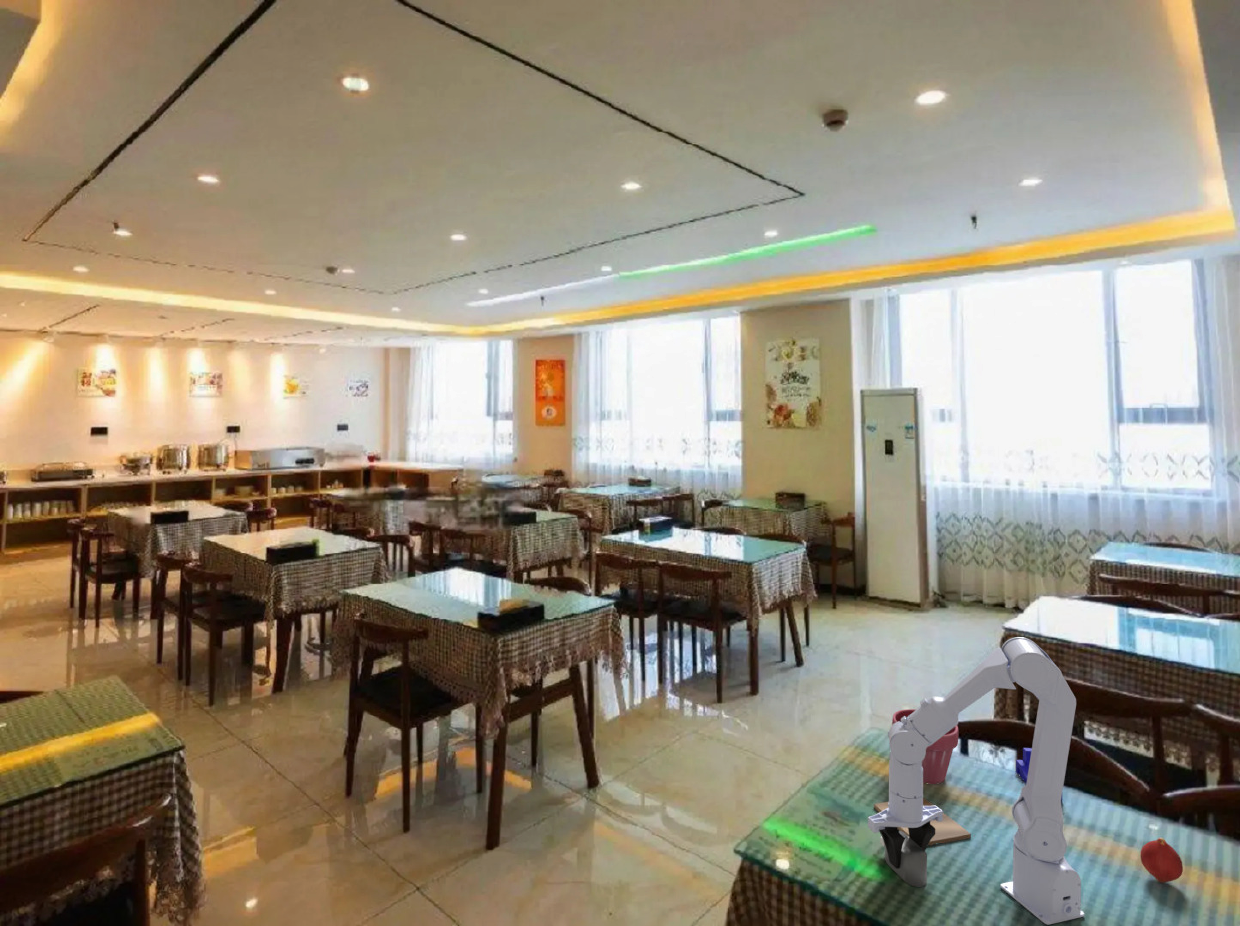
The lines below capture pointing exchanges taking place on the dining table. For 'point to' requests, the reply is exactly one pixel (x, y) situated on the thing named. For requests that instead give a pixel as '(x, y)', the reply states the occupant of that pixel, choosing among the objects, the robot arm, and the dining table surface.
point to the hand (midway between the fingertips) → (905, 862)
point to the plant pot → (934, 752)
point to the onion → (1161, 860)
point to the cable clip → (1024, 764)
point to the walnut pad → (936, 827)
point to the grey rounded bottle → (910, 862)
